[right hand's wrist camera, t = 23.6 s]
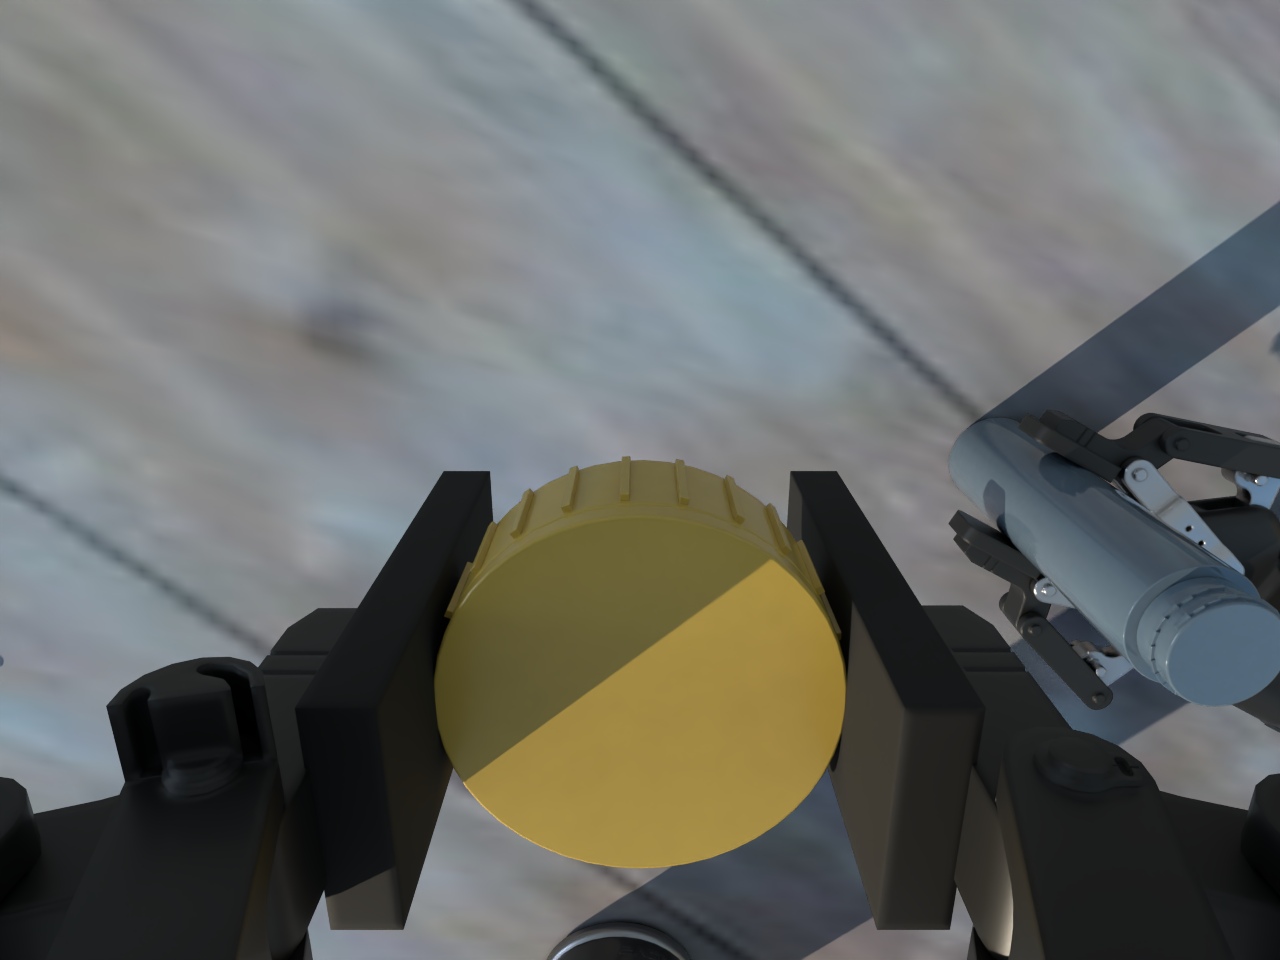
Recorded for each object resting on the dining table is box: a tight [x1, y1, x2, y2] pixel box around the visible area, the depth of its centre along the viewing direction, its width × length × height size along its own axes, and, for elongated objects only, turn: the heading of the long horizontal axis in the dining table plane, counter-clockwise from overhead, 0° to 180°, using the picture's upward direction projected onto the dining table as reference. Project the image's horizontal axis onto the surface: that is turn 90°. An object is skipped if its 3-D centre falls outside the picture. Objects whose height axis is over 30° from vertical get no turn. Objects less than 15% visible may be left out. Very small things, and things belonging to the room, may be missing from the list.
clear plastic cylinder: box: [949, 417, 1280, 707], centre depth 33 cm, size 4×4×18 cm
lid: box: [434, 456, 847, 868], centre depth 11 cm, size 5×5×2 cm
